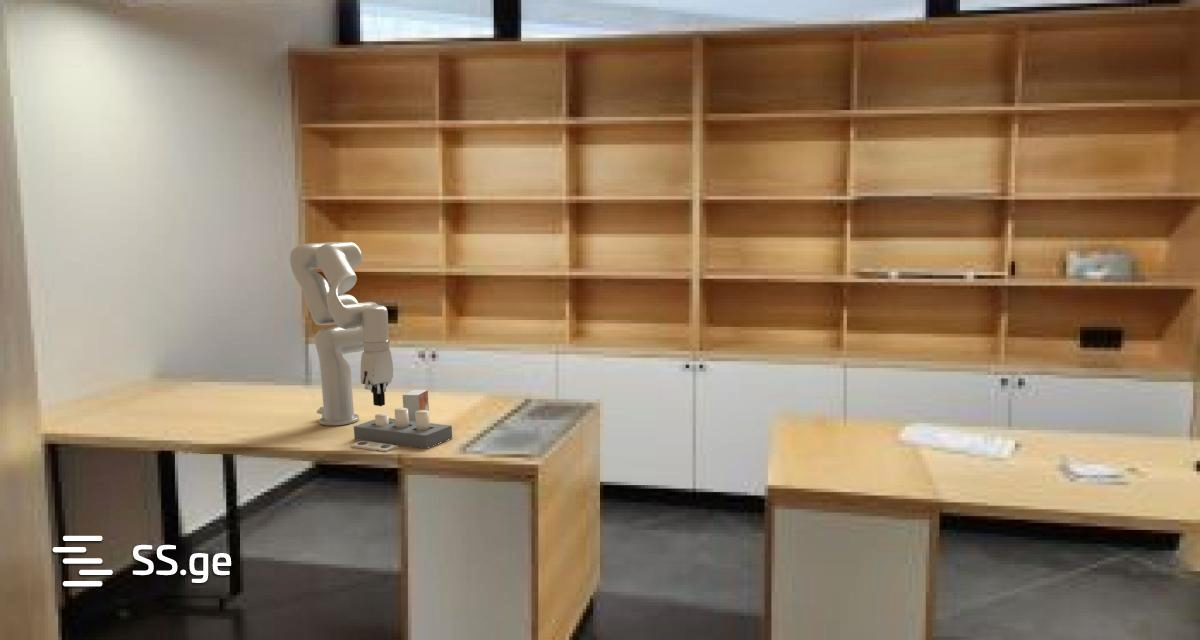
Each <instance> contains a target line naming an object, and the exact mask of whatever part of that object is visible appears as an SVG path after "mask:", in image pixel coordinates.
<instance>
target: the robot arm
mask: <svg viewBox="0 0 1200 640" xmlns="http://www.w3.org/2000/svg"><path fill="white" fill-rule="evenodd" d="M362 260H363V254H362V251H361V249H360V247H359V246H358V244H356V243H354V242H352V241H330V242H312V243H305V244H304V243H303V244H300V245H297V246H295V247H294V248H292V250H291V251H290V256H289V262H290V263H289V264H290V268H291V271H292V274H293V276H294V278H295V279H296V281H297V283H298V285H299V286H300V288H301V289H302V292H303V296H304V299H305V301H306V305H307V308H308V311H309V313H310V317H311V320H312V321H313V322H314V324H315V325H318V326H327V327H323V328H320V329H319V330H318V331H317V332H316V334H315V336H314V344H315V349H316V352H317V356H318V361H319V362H318V363H319V369H320V377H321V380H320V381H321V393H322V403H323V404H322V405H323V406H320V407H319V408H318V409H317V410H316V414H319V415H321V418H320V419H319V424H320V425H322V426H328V427H330V426H333V427H334V426H335V427H336V426H344V425H349V424H353V423H357V422H358V421H359V420H360V416H359V414H357V413H355V408H354V398H353V397H354V396H353V383H352V382H353V380H352V369H351V368H352V367H351V366H350V364H349V363H348V361H347V360H346V359H345V358H344V356H343V355H346V354H352V353H358V352H362V353H361V357H360V358H361V359H360V382H361V384H362V385H364V390H368V391H369V390H370V392H371V393H372V399H373V400H372V403H373V405H374V406H375V407H376V406H377V407H383V406H385V405H386V399H385V398H386V395H385V392H386V391H387V387H388V386H389V385H390V384H392V382H393V381H392V379H393V378H394V366H393V365H394V363H393V357H392V352H391V349H390V342H391V341H390V337H389V335H390V333H389V313H388V309H387V307H386V306H384V305H379V304H378V303H377V302H374V301H366V302H358V300H357V299H356V297H354V296H353V295H351V294H347V292H349V291H350V290H351V289H352V288H354V286H355V285H356V283H357V280H358V277H357V275H356V274H357V273H356V272H355V271H354V270H353V268H357V267H359V266H360V265H361V263H362ZM319 269H320V270H321V271H322V273H323V275H324V276H323V275H322V274H320V273H319V272H317V271H316V270H319ZM330 325H331V326H330Z"/></svg>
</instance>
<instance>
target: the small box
mask: <svg viewBox="0 0 1200 640" xmlns="http://www.w3.org/2000/svg"><path fill="white" fill-rule="evenodd" d="M429 406H430V404H429V390H428V389H412V390H410V391H409V392H405V393H404V394H402V408H408V416H409V421H416V418H415V412H416V411H419V410H428V411H429V412H430V409H429Z"/></svg>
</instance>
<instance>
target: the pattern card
mask: <svg viewBox="0 0 1200 640" xmlns="http://www.w3.org/2000/svg"><path fill="white" fill-rule="evenodd" d="M349 446H350V448H357V449H365V450H370V451H376V450H379V451H378V452H383V451H388V452H390V451H392V450H391V449H393V450H395V449H397V447H398V448H399V445H394V444H386V443H379V442H372V441H364V440H359V441H357V442H354V443H352V444H349ZM394 448H395V449H394ZM389 450H390V451H389Z"/></svg>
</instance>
